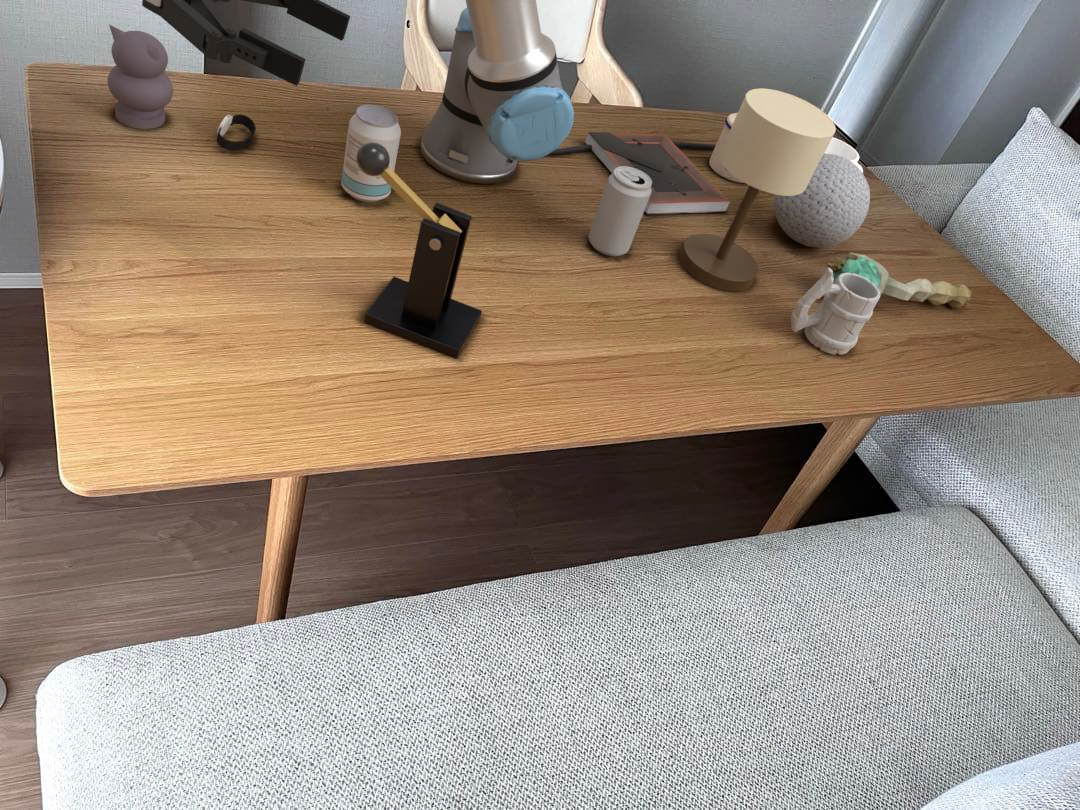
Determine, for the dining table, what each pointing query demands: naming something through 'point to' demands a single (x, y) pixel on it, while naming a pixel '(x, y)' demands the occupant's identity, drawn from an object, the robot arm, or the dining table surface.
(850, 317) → the mug
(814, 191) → the decorative ball
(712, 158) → the teacup with lid
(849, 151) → the mug
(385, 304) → the switch bracket
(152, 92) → the cat figurine
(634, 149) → the picture frame
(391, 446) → the dining table surface
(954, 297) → the scepter
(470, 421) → the dining table surface
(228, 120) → the watch
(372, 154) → the lamp switch
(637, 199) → the beverage can
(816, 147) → the lamp
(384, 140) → the beverage can
